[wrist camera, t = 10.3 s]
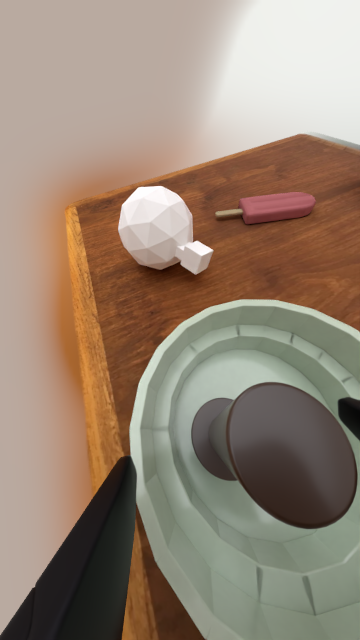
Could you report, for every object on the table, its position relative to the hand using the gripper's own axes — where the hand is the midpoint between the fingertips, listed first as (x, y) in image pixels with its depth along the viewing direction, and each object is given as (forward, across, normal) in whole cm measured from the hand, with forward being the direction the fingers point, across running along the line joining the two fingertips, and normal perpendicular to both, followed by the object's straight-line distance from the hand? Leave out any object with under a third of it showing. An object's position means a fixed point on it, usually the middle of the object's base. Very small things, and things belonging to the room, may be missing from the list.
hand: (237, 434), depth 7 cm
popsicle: (+25, -16, -14) cm, 33 cm away
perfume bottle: (+20, 0, -9) cm, 22 cm away
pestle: (+5, 0, +5) cm, 7 cm away
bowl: (+6, -2, +5) cm, 8 cm away
